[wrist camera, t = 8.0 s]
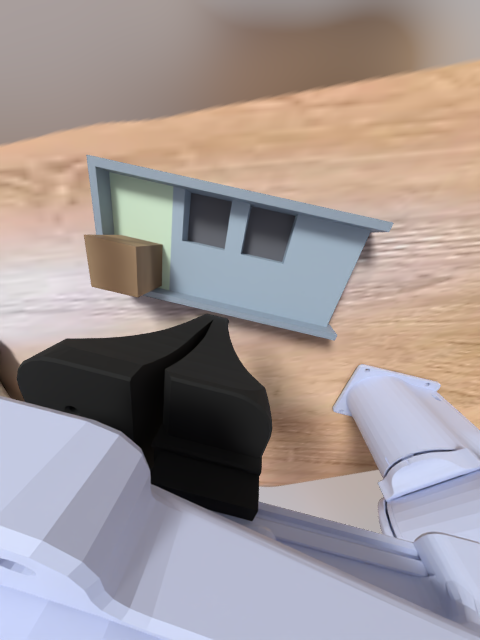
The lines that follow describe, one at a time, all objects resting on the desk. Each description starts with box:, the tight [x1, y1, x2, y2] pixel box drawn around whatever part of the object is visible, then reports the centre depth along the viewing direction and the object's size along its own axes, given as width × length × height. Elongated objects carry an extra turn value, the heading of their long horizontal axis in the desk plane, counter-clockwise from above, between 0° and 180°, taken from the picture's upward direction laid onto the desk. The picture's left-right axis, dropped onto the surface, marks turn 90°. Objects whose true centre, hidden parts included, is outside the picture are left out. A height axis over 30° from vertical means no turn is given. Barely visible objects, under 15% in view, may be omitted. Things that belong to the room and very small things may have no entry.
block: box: [84, 235, 163, 297], centre depth 16 cm, size 4×4×4 cm
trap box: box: [87, 155, 393, 340], centre depth 17 cm, size 23×10×3 cm, turn 78°
